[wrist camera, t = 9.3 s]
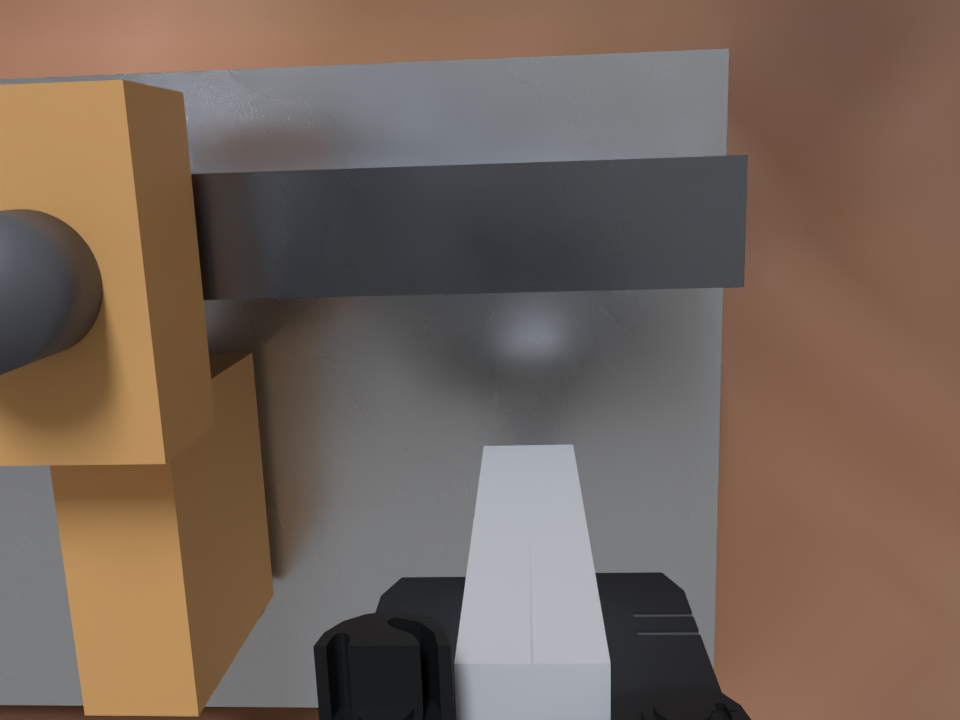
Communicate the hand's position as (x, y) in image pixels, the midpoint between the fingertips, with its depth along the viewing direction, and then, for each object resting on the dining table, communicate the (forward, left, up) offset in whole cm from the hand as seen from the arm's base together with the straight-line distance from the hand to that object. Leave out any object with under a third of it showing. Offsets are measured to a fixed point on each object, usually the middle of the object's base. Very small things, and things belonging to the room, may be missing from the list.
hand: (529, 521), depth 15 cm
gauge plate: (-10, +1, -5) cm, 11 cm away
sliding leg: (-7, +2, -3) cm, 8 cm away
